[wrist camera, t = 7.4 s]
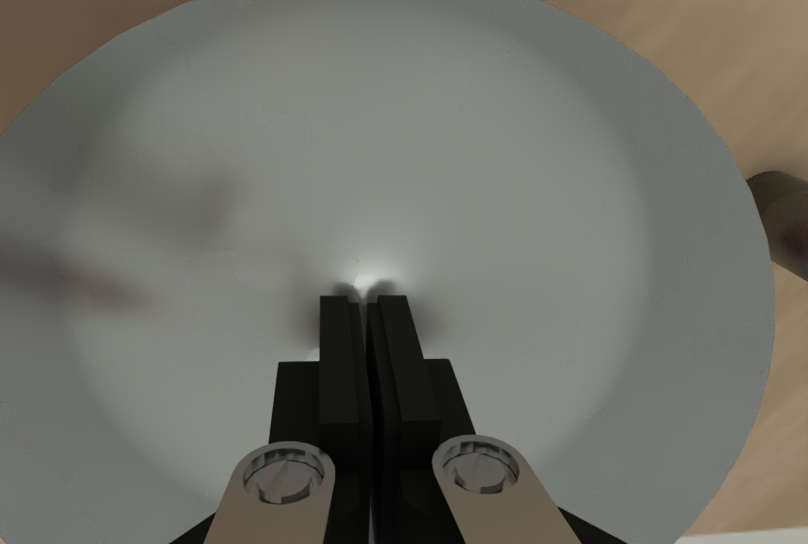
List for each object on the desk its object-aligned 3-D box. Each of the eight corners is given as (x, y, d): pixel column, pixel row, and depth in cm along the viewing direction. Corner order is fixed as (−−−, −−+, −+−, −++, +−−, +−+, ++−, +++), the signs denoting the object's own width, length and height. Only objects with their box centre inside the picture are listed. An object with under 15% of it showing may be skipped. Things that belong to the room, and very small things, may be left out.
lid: (-143, -62, 11) (-254, -74, 9) (838, 0, 13) (931, 2, 11) (57, 652, 19) (24, 732, 17) (640, 618, 21) (672, 685, 19)
